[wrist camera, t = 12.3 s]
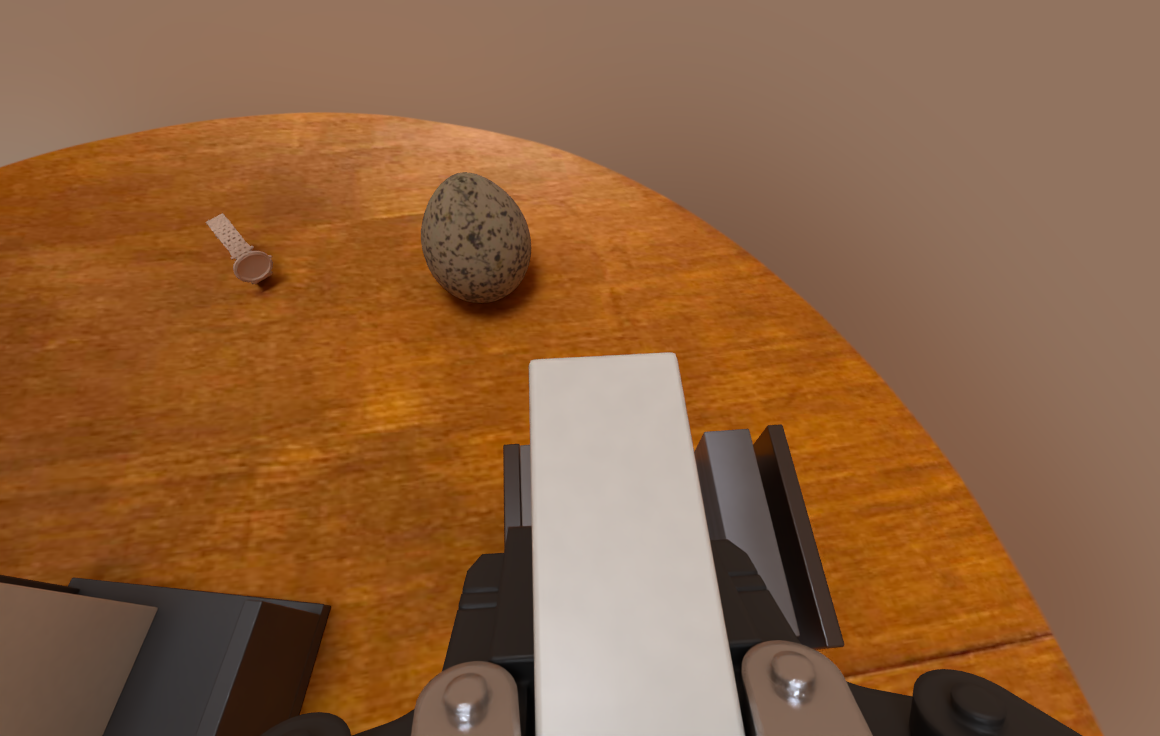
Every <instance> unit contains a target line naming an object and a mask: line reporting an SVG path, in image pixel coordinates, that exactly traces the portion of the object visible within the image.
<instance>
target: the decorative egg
mask: <svg viewBox="0 0 1160 736" xmlns="http://www.w3.org/2000/svg"><path fill="white" fill-rule="evenodd" d="M421 242H422V249H423V253H424V256H425V259H426V262H427V265H428V267H429V269H430V271H431V273H432V275H433V276H434V278H435V279H436V280H437V282H438V283H439V284H440V285H441V286H442V287H443V288H444V289H445V290H447V291H448V292H449V293H451V294H452V295H454V296H456V297H457V298H460V299H462V300H465V301H468V302H473V303H488V302H493V301H497V300H499V299H502V298H504V297H506V296H507V295H509V294H510V293H511V292H512V291H514V290H515V289H516V288H517V286H518V285H519V284H520V283H521V281H522V280H523V278H524V276H525V274H526V271H527V269H528V265H529V262H530V256H531V239H530V233H529V229H528V226H527V223H526V220H525V218H524V216H523V214H522V212H521V210H520V209H519V207H518V206H517V204H516V203H515V202H514V200H513V199H512V198H511V197H510V196H509V195H508V194H507V193H506V192H505V191H504V190H503V189H502V188H500V187H499V186H498V185H496V184H495V183H493V182H492V181H490V180H488V179H486V178H484V177H482V176H480V175H477V174H473V173H467V172H463V173H457V174H454V175H452V176H450V177H449V178H447V179H446V180H445V181H444V182H443V183H442V184H441V185H440V186H439V187H438V188H437V189H436V191H435V192H434V194H433V195H432V197H431V199H430V201H429V203H428V205H427V208H426V210H425V213H424V217H423V222H422V229H421Z"/></svg>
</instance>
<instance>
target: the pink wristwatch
mask: <svg viewBox="0 0 1160 736" xmlns="http://www.w3.org/2000/svg"><path fill="white" fill-rule="evenodd" d="M206 223H207V224H208V226H209V227H210V228H211V229H212V231H213V232H214V233H215V236H216V237H217V238H219V240H220V241H221V242H222V243H223V245H224V246H225V247H226V248H227V250H228V251H229V252H230V254H231V255H232V257H231V259H235V258H236V261H235V263H234V266H233V270H234V274H235V275H236V277H237V278H238V279H240V280H242V281H244V282H251V283H252V284H257V283H258V282H260V281H262V280H264V279H265V278H267V277H269V276H271V274H272V273H273V272H272V271H271V270H272V267H273V262H272V260H271V257H272V256H271V255H269V256H268V255H267V254H266V253H264V252H261V251H251V249H252V248H253V246H251V247H250V246H249V245H248V244H247V243H245V240H244V239H243V238H242V236H241V235H240V234H239V233H238V231H237V230H236V229H235V227H234V226H233V225H232V224H231V223H230V221H229V220H228V219H227V218H226V217H225V215H224V214H223V213H222V214H221V215H218V216H217V217H215V218H213V219H211V220H208V221H207V222H206Z"/></svg>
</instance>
